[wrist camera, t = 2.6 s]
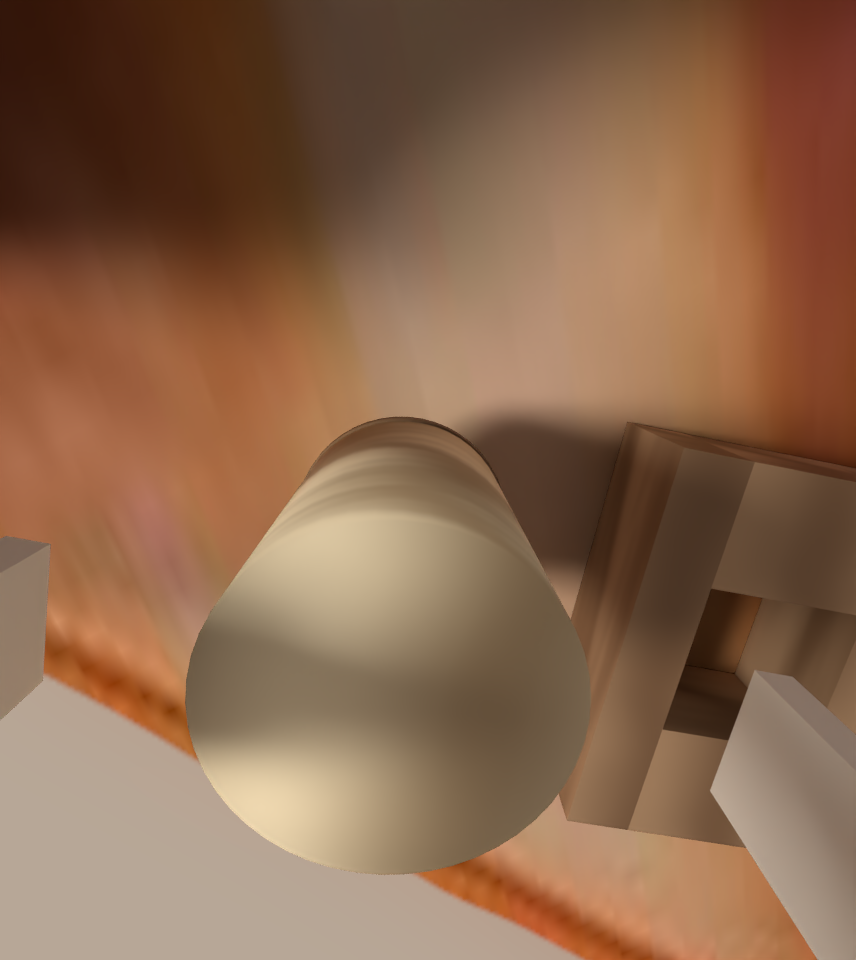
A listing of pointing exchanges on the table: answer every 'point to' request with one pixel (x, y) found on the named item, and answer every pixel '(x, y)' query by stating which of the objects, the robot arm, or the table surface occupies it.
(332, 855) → the leg peg
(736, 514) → the board
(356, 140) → the table surface
